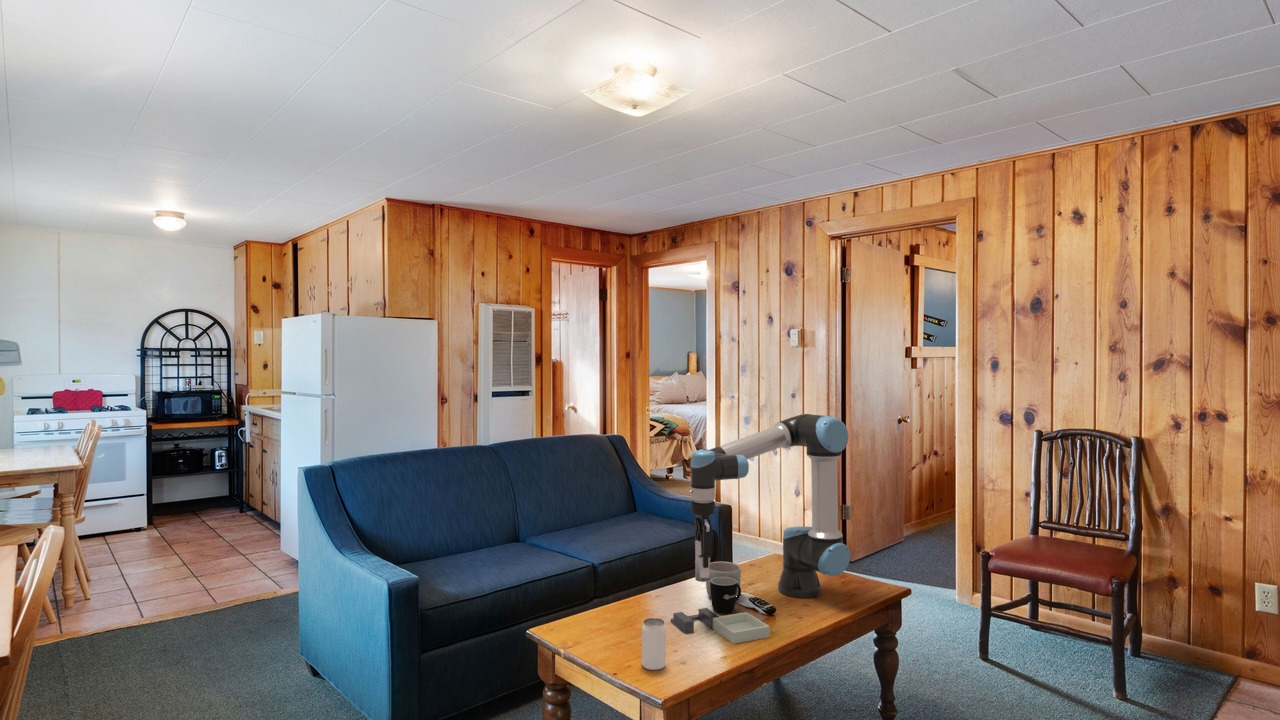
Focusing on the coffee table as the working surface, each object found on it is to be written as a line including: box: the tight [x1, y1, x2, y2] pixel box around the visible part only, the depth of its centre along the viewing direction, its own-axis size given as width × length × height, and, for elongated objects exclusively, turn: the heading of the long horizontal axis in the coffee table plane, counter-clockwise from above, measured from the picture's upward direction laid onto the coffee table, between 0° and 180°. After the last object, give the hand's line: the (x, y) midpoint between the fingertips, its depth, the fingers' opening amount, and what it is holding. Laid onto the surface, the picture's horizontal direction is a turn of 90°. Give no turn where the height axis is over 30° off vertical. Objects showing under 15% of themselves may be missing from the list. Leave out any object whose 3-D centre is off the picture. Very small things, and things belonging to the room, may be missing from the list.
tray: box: [712, 611, 770, 645], centre depth 210 cm, size 13×13×3 cm
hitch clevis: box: [670, 607, 720, 634], centre depth 216 cm, size 12×10×4 cm
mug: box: [710, 577, 742, 615], centre depth 229 cm, size 12×9×10 cm
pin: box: [694, 539, 711, 583], centre depth 215 cm, size 5×5×12 cm
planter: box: [705, 561, 742, 599], centre depth 241 cm, size 12×12×11 cm
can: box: [641, 617, 667, 671], centre depth 188 cm, size 6×6×12 cm
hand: (702, 574), depth 215 cm, fingers closed on pin, 5 cm apart
